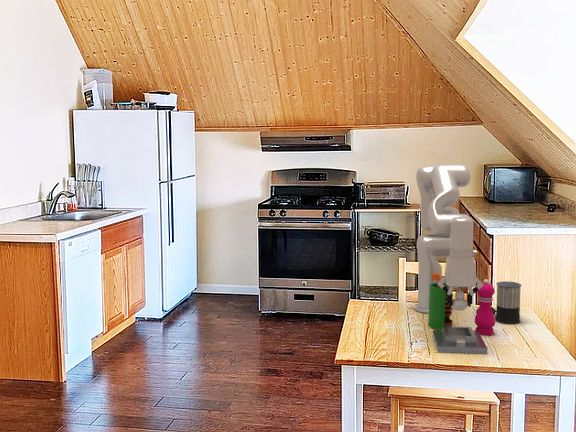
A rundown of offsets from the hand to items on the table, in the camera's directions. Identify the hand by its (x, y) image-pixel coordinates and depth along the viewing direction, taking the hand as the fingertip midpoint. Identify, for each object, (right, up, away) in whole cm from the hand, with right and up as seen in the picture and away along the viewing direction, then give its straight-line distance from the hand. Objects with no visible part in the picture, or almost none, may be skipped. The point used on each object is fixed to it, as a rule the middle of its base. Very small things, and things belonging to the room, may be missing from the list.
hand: (459, 305), depth 216 cm
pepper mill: (+13, -12, +14) cm, 23 cm away
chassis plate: (0, -14, +2) cm, 14 cm away
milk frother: (+24, -10, +32) cm, 41 cm away
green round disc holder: (-1, -11, +23) cm, 26 cm away
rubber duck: (0, -2, 0) cm, 2 cm away
